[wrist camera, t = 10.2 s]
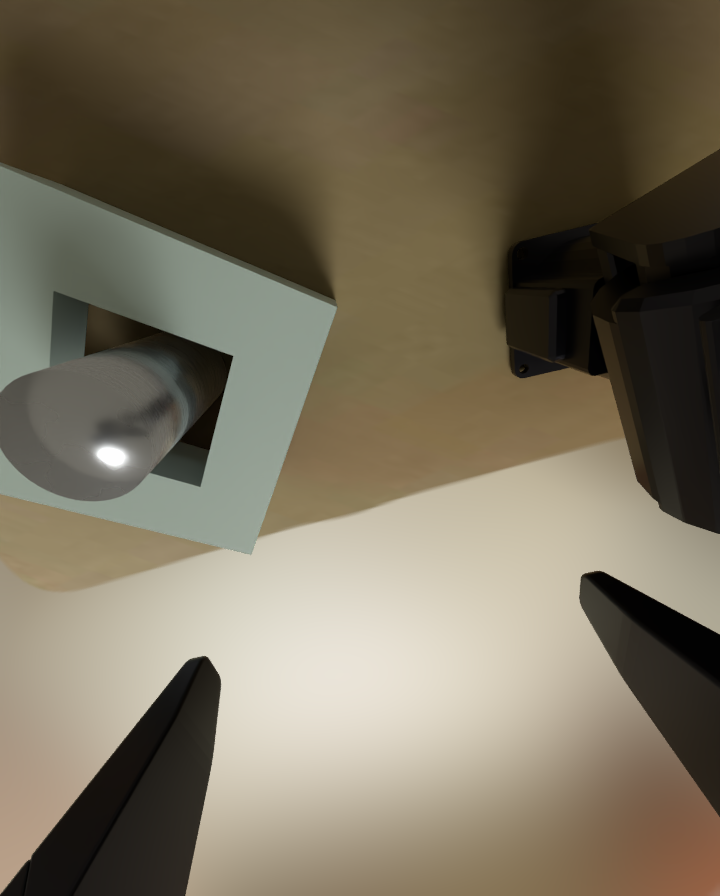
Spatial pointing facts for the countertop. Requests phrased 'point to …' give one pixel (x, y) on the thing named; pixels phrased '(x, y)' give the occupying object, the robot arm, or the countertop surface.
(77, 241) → the slate pin jig
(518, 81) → the countertop surface
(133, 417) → the steel pin
